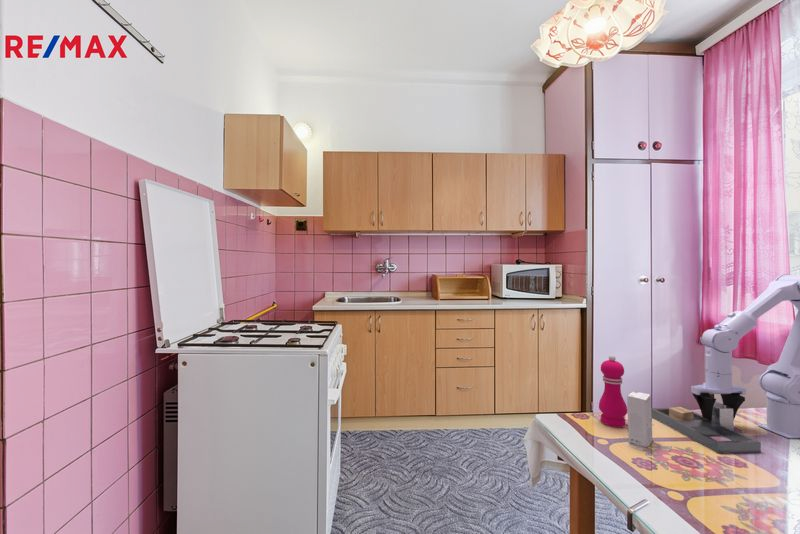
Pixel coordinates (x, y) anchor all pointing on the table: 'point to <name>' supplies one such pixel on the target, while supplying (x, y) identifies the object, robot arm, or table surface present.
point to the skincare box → (639, 418)
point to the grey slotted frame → (708, 432)
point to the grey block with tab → (723, 415)
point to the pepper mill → (612, 394)
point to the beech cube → (680, 413)
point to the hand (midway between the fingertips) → (718, 419)
